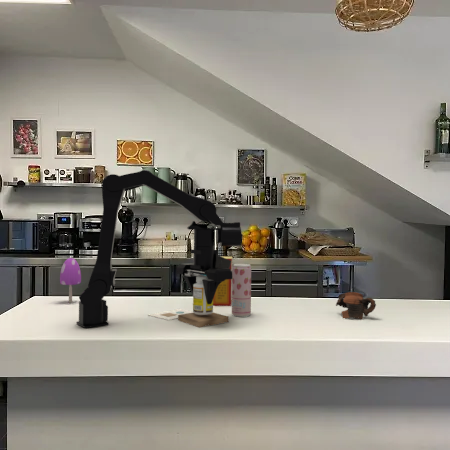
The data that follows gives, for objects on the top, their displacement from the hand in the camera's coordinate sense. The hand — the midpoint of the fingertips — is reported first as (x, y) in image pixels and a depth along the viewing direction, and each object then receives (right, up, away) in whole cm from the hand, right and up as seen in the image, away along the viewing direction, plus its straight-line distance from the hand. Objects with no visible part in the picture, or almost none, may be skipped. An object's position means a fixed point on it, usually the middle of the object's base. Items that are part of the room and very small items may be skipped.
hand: (203, 302), depth 118 cm
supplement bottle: (0, -3, 0) cm, 3 cm away
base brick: (0, -5, 0) cm, 5 cm away
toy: (-46, -5, +25) cm, 52 cm away
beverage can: (+11, -6, +9) cm, 15 cm away
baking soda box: (+5, -5, +27) cm, 28 cm away
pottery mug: (+45, -6, +9) cm, 46 cm away
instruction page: (-9, -5, +8) cm, 13 cm away
